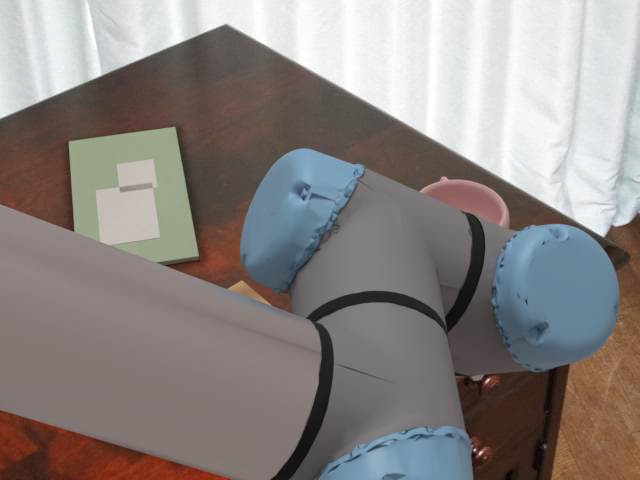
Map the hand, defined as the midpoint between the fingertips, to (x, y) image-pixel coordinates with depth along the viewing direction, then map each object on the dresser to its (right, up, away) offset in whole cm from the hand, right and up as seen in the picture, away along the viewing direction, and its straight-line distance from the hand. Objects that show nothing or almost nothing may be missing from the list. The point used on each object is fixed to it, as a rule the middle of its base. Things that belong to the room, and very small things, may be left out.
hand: (284, 350), depth 92 cm
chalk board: (-17, +13, +30) cm, 37 cm away
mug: (+16, +8, +24) cm, 30 cm away
